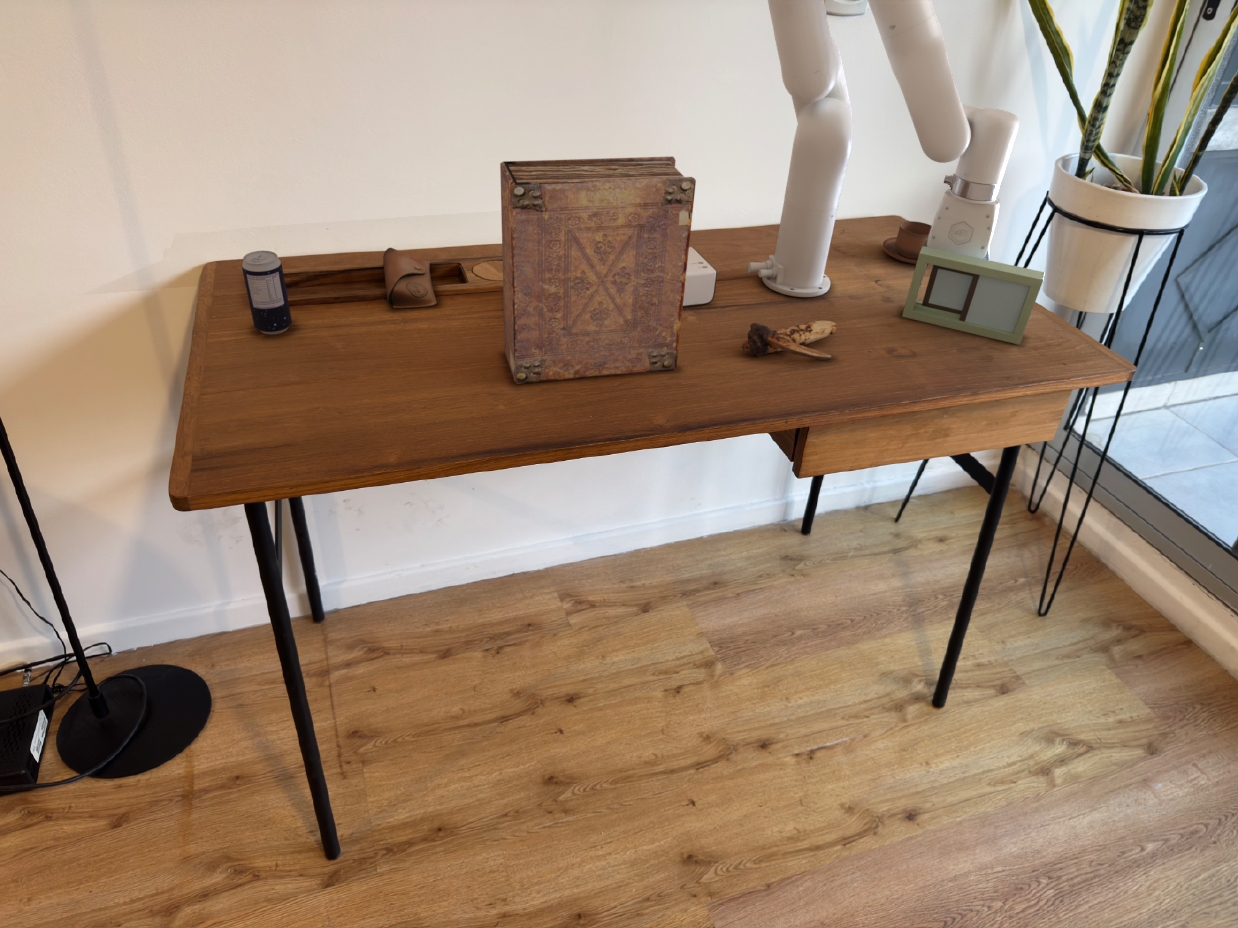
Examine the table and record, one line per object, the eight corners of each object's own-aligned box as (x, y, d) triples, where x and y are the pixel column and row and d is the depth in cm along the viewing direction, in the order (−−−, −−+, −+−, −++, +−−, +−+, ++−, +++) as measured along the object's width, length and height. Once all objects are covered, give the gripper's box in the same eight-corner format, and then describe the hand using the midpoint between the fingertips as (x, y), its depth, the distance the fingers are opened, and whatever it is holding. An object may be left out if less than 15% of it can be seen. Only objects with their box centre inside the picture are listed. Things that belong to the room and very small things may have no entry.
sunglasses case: (440, 303, 149) (417, 273, 145) (405, 325, 150) (381, 295, 145) (430, 260, 163) (408, 231, 159) (398, 280, 163) (376, 252, 159)
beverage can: (300, 325, 141) (288, 254, 134) (275, 340, 137) (261, 267, 130) (272, 317, 143) (259, 246, 136) (246, 331, 139) (231, 259, 131)
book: (658, 342, 144) (676, 156, 126) (676, 370, 137) (698, 178, 119) (503, 354, 137) (500, 161, 120) (514, 385, 130) (511, 184, 113)
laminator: (526, 323, 146) (526, 289, 142) (509, 292, 155) (508, 259, 152) (713, 304, 156) (717, 271, 153) (686, 275, 166) (690, 243, 162)
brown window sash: (921, 306, 157) (934, 262, 152) (927, 291, 162) (940, 248, 157) (973, 319, 154) (988, 274, 149) (978, 302, 159) (992, 259, 154)
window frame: (901, 316, 157) (919, 253, 150) (905, 308, 160) (922, 246, 152) (1019, 345, 151) (1043, 280, 144) (1020, 336, 153) (1044, 272, 146)
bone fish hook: (763, 377, 138) (855, 355, 144) (768, 351, 135) (862, 330, 141) (732, 347, 144) (821, 328, 151) (736, 322, 141) (827, 303, 148)
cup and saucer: (878, 242, 185) (885, 214, 181) (936, 249, 184) (944, 220, 180) (883, 265, 175) (891, 236, 171) (945, 272, 174) (954, 243, 170)
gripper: (924, 185, 149) (897, 286, 159) (1021, 204, 144) (986, 306, 155) (931, 173, 154) (905, 271, 165) (1024, 190, 149) (991, 290, 160)
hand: (944, 287), depth 160 cm, fingers closed
